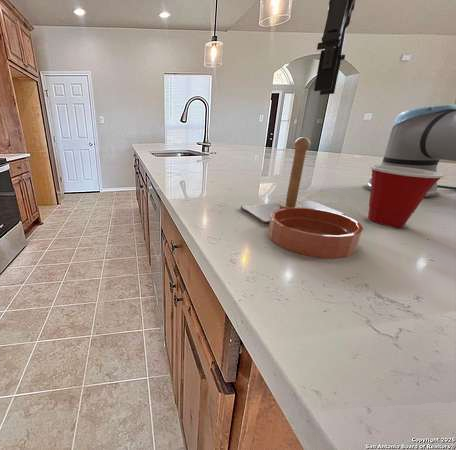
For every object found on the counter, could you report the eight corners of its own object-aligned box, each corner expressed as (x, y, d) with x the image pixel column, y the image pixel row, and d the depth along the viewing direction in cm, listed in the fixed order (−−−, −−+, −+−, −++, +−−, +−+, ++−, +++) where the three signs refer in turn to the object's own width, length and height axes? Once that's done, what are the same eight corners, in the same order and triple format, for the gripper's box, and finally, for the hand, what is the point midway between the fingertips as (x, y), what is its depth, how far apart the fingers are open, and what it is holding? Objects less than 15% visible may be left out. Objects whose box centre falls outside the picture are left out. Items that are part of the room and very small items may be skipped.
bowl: (313, 224, 54) (318, 205, 52) (377, 256, 41) (385, 231, 39) (254, 230, 52) (256, 210, 50) (300, 265, 39) (306, 240, 37)
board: (309, 204, 66) (310, 200, 66) (344, 218, 56) (345, 213, 56) (240, 210, 64) (240, 206, 63) (263, 226, 54) (264, 221, 53)
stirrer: (291, 205, 62) (305, 136, 56) (305, 212, 58) (321, 137, 51) (274, 207, 61) (286, 137, 55) (286, 213, 57) (300, 138, 51)
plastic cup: (437, 235, 47) (465, 173, 42) (372, 232, 49) (392, 172, 44) (397, 215, 57) (417, 163, 52) (345, 213, 59) (360, 163, 54)
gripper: (329, -10, 54) (310, 97, 62) (320, -73, 36) (295, 90, 44) (373, -23, 50) (347, 93, 58) (388, -101, 32) (347, 85, 40)
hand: (324, 92), depth 51 cm, fingers open, 13 cm apart
